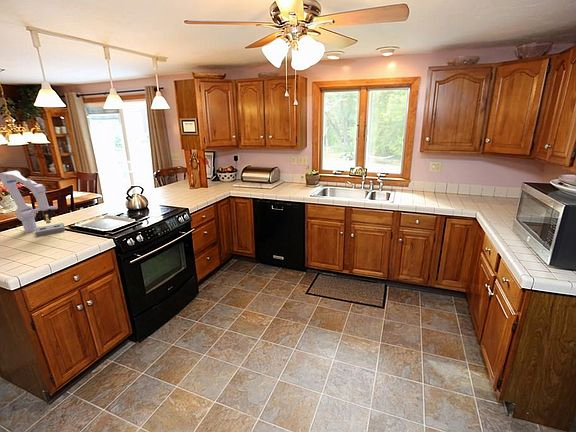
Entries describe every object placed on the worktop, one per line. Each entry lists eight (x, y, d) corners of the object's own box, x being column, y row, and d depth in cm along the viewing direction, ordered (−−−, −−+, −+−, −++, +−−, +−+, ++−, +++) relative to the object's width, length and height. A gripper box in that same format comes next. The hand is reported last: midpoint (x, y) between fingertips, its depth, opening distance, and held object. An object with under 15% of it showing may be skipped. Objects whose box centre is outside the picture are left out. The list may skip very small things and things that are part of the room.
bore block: (37, 231, 216) (36, 227, 215) (64, 226, 225) (63, 222, 224) (36, 236, 207) (35, 232, 206) (64, 231, 216) (63, 227, 215)
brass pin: (46, 222, 212) (44, 214, 210) (51, 222, 213) (48, 214, 211) (46, 223, 210) (43, 215, 208) (50, 223, 211) (48, 215, 209)
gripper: (28, 205, 199) (34, 224, 204) (54, 201, 207) (60, 219, 212) (29, 202, 205) (35, 221, 209) (55, 199, 213) (60, 217, 217)
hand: (47, 220), depth 211 cm, fingers closed on brass pin, 2 cm apart
